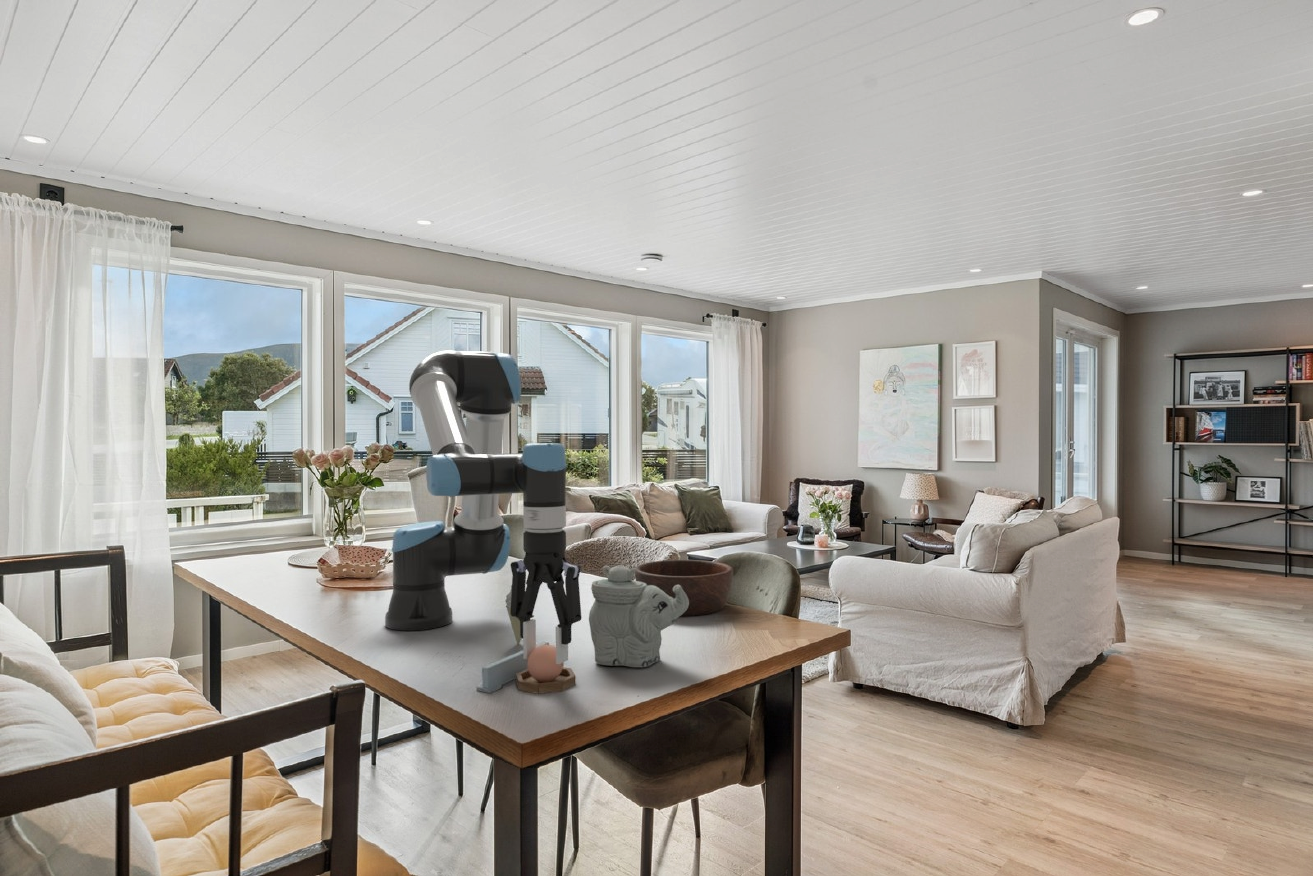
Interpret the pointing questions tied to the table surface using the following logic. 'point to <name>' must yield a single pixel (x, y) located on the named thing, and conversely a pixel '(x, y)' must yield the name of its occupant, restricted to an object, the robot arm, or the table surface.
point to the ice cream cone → (513, 619)
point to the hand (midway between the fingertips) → (545, 659)
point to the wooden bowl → (690, 582)
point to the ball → (544, 664)
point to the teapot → (631, 618)
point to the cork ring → (558, 684)
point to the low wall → (503, 671)
